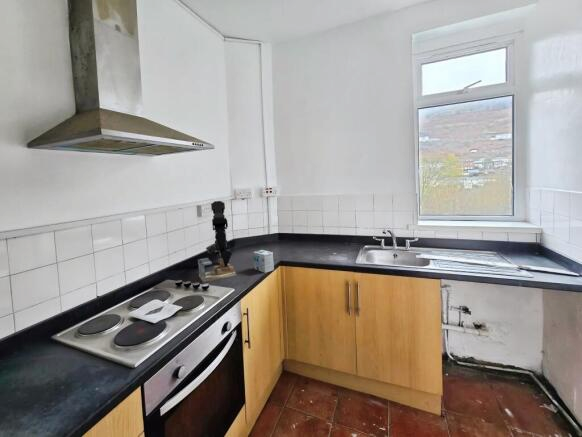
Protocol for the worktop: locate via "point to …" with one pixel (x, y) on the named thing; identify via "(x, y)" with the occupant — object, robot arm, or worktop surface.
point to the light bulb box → (263, 261)
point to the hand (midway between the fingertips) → (223, 265)
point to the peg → (221, 263)
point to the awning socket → (216, 273)
